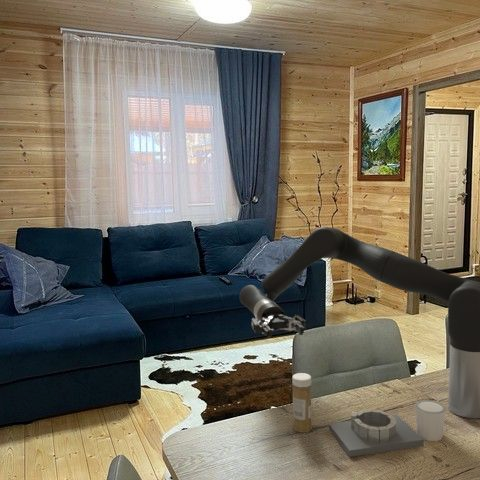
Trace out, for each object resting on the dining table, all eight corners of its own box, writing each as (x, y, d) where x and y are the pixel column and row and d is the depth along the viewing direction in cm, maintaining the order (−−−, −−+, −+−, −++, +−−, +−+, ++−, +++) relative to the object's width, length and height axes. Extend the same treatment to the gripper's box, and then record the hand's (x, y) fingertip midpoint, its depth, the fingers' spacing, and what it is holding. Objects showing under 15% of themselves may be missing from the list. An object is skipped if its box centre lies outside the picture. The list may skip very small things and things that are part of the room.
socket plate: (396, 420, 121) (396, 414, 120) (424, 445, 109) (424, 439, 109) (328, 429, 117) (328, 423, 117) (349, 456, 105) (349, 450, 105)
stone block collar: (383, 418, 118) (383, 407, 118) (403, 439, 109) (403, 426, 109) (347, 423, 117) (347, 411, 116) (365, 444, 107) (365, 432, 107)
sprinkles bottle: (315, 429, 117) (315, 376, 116) (301, 435, 115) (300, 381, 113) (303, 421, 121) (302, 370, 119) (289, 427, 119) (288, 375, 117)
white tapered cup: (445, 430, 115) (446, 402, 114) (444, 444, 109) (445, 415, 108) (415, 424, 118) (416, 397, 117) (412, 438, 112) (413, 410, 111)
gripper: (245, 303, 140) (260, 321, 124) (292, 300, 143) (312, 316, 127) (245, 328, 141) (260, 349, 125) (291, 324, 144) (311, 344, 128)
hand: (286, 332), depth 126 cm, fingers open, 8 cm apart
